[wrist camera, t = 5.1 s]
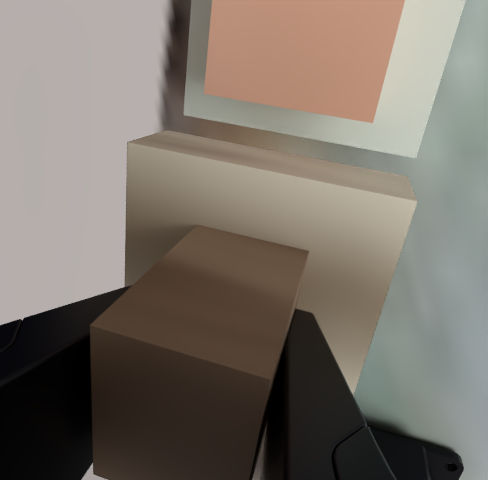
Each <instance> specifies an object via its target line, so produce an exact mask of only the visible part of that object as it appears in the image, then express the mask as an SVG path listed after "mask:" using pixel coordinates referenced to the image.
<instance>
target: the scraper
mask: <svg viewBox="0 0 488 480" xmlns="http://www.w3.org/2000/svg"><path fill="white" fill-rule="evenodd" d="M417 202H418V201H417V199H416V196H415V194H414V191H413V189H412V187H411V184H410V182H409V179H408V177H407V176H402V175H397V174H391V173H386V172H381V171H376V170H371V169H366V168H360V167H355V166H350V165H345V164H340V163H335V162H330V161H324V160H319V159H314V158H309V157H304V156H299V155H293V154H288V153H283V152H278V151H273V150H268V149H262V148H257V147H252V146H247V145H242V144H237V143H232V142H226V141H221V140H216V139H211V138H206V137H201V136H195V135H190V134H185V133H180V132H175V131H170V130H166V131H162V132H159V133H156V134H153V135H150V136H146V137H143V138H140V139H136V140H133V141H130V142H127V186H126V243H125V249H126V250H125V287H127V286H130V285H132V286H131V287H130V288H129V289H128V290H127V291H126V292H125V293H124V294H123V295H122V296H121V297H119V298H118V299H117V300H116V301H115V302H114V303H113V304H112V305H111V306H110V307H109V308H108V309H107V310H106V311H104V312H103V313H102V314H101V315H100V316H99V317H98V318H97V319H96V320H95V321H94V322H93V323H92V324H91V325H90V355H91V396H92V436H93V472H94V473H93V474H95V475H97V476H100V477H103V478H105V479H108V480H252V478H253V474H254V471H255V467H256V463H257V460H258V456H259V452H260V449H261V445H262V441H263V438H264V434H265V430H266V427H267V420H268V416H269V411H270V407H271V402H272V397H273V393H274V388H275V384H276V379H277V375H278V370H279V366H280V361H281V357H282V352H283V348H284V343H285V340H286V336H287V333H288V330H289V327H290V323H291V320H292V317H293V314H294V311H295V309H300V310H304V311H308V312H311V313H313V314H314V316H315V318H316V320H317V322H318V324H319V326H320V328H321V330H322V332H323V334H324V336H325V339H326V341H327V343H328V345H329V347H330V349H331V351H332V353H333V355H334V357H335V359H336V361H337V363H338V365H339V367H340V369H341V371H342V373H343V375H344V377H345V380H346V382H347V384H348V386H349V388H350V390H351V392H352V394H353V395H354V392H355V389H356V386H357V383H358V380H359V377H360V374H361V371H362V368H363V365H364V362H365V359H366V356H367V353H368V350H369V347H370V344H371V341H372V338H373V335H374V332H375V329H376V326H377V323H378V320H379V317H380V314H381V311H382V308H383V305H384V302H385V299H386V296H387V293H388V290H389V286H390V283H391V280H392V277H393V274H394V271H395V268H396V265H397V262H398V259H399V256H400V253H401V250H402V247H403V244H404V241H405V238H406V235H407V232H408V229H409V226H410V223H411V220H412V217H413V214H414V211H415V208H416V205H417Z"/></svg>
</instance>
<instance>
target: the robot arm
mask: <svg viewBox="0 0 488 480" xmlns="http://www.w3.org/2000/svg"><path fill="white" fill-rule="evenodd" d="M131 286H132V285H130V286H127V287H124V288H120V289H117V290H114V291H111V292H107V293H104V294H101V295H97V296H94V297H91V298H88V299H85V300H81V301H78V302H75V303H71V304H68V305H65V306H62V307H58V308H55V309H52V310H49V311H45V312H42V313H39V314H36V315H32V316H29V317H26V318H24V319H23V321H22V320H21V319H19V320H16V321H12V322H10V323H7V324H3V325H0V480H81V479H82V478H83V476H84V475H85V473H86V472H87V470H88V469H89V467H90V466H91V464H92V463H93V436H92V396H91V355H90V325H91V324H92V323H93V322H94V321H95V320H96V319H97V318H98V317H99V316H100V315H101V314H102V313H103V312H104V311H106V310H107V309H108V308H109V307H110V306H111V305H112V304H113V303H114V302H115V301H116V300H117V299H118V298H119V297H121V296H122V295H123V294H124V293H125V292H126V291H127V290H128V289H129V288H130V287H131ZM448 463H452V464H448ZM463 469H464V467H463V463H462V459H461V457H460V456H459V455H458V454H457V453H454V452H452V451H449V450H445V449H442V448H439V447H435V446H432V445H429V444H426V443H422V442H419V441H416V440H413V439H409V438H406V437H403V436H400V435H396V434H393V433H390V432H387V431H383V430H380V429H377V428H374V427H370V426H367V423H366V421H365V418H364V416H363V414H362V412H361V410H360V408H359V406H358V404H357V402H356V400H355V398H354V396H353V394H352V392H351V390H350V388H349V386H348V384H347V382H346V380H345V377H344V375H343V373H342V371H341V369H340V367H339V365H338V363H337V361H336V359H335V357H334V355H333V353H332V351H331V349H330V347H329V345H328V343H327V341H326V339H325V336H324V334H323V332H322V330H321V328H320V326H319V324H318V322H317V320H316V318H315V316H314V314H313V313H311V312H308V311H304V310H300V309H295V311H294V314H293V317H292V320H291V323H290V327H289V330H288V333H287V336H286V340H285V343H284V348H283V352H282V357H281V361H280V366H279V370H278V375H277V379H276V384H275V388H274V393H273V397H272V402H271V407H270V411H269V416H268V420H267V427H266V435H265V443H264V451H263V459H262V467H261V475H260V480H459V478H460V476H461V474H462V472H463Z"/></svg>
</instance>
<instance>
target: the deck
mask: <svg viewBox="0 0 488 480" xmlns="http://www.w3.org/2000/svg"><path fill="white" fill-rule="evenodd" d="M465 1H466V0H405V3H404V7H403V10H402V14H401V18H400V22H399V26H398V30H397V33H396V37H395V41H394V45H393V49H392V52H391V56H390V60H389V64H388V68H387V72H386V75H385V79H384V83H383V87H382V91H381V95H380V98H379V102H378V106H377V110H376V114H375V117H374V121H373V123H369V122H363V121H357V120H351V119H345V118H340V117H334V116H328V115H322V114H317V113H311V112H305V111H299V110H294V109H288V108H282V107H276V106H271V105H265V104H259V103H253V102H248V101H242V100H236V99H230V98H224V97H219V96H213V95H207V94H204V86H205V75H206V64H207V53H208V41H209V30H210V19H211V8H212V0H191V14H190V28H189V42H188V56H187V70H186V84H185V98H184V112H183V115H185V116H191V117H196V118H201V119H207V120H212V121H218V122H223V123H228V124H234V125H239V126H244V127H250V128H255V129H261V130H266V131H271V132H277V133H282V134H288V135H293V136H298V137H304V138H309V139H315V140H320V141H325V142H331V143H336V144H342V145H347V146H352V147H358V148H363V149H369V150H374V151H379V152H385V153H390V154H396V155H401V156H406V157H412V158H416V156H417V153H418V150H419V147H420V144H421V140H422V137H423V134H424V131H425V128H426V125H427V121H428V118H429V115H430V112H431V109H432V106H433V102H434V99H435V96H436V93H437V90H438V87H439V83H440V80H441V77H442V74H443V71H444V68H445V64H446V61H447V58H448V55H449V52H450V49H451V45H452V42H453V39H454V36H455V33H456V29H457V26H458V23H459V20H460V17H461V14H462V10H463V7H464V4H465Z"/></svg>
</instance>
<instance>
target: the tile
mask: <svg viewBox="0 0 488 480" xmlns="http://www.w3.org/2000/svg"><path fill="white" fill-rule="evenodd" d="M404 3H405V0H212V8H211V19H210V30H209V41H208V53H207V64H206V75H205V86H204V94H207V95H213V96H219V97H224V98H230V99H236V100H242V101H248V102H253V103H259V104H265V105H271V106H276V107H282V108H288V109H294V110H299V111H305V112H311V113H317V114H322V115H328V116H334V117H340V118H345V119H351V120H357V121H363V122H369V123H373V121H374V117H375V114H376V110H377V106H378V102H379V98H380V95H381V91H382V87H383V83H384V79H385V75H386V72H387V68H388V64H389V60H390V56H391V52H392V49H393V45H394V41H395V37H396V33H397V30H398V26H399V22H400V18H401V14H402V10H403V7H404Z"/></svg>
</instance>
